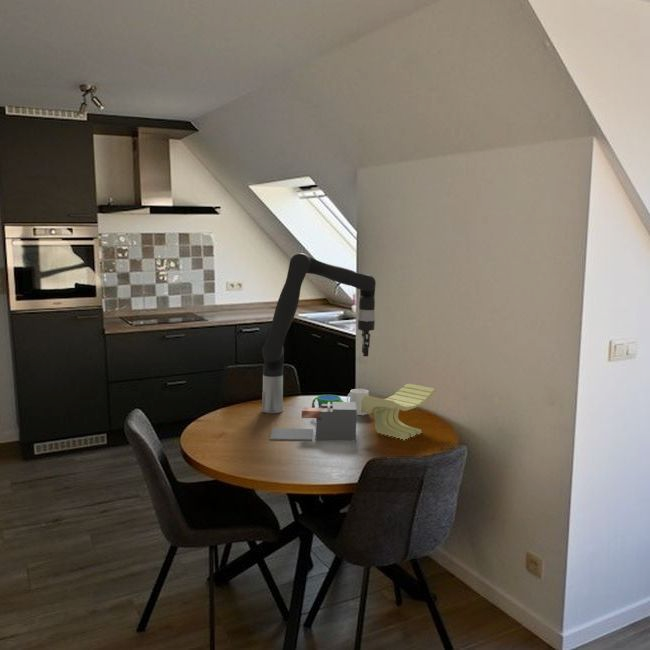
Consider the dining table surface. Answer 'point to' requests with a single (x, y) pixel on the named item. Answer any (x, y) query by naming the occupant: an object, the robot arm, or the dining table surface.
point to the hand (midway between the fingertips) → (365, 354)
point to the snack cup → (326, 400)
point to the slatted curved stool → (396, 409)
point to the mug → (358, 398)
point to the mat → (291, 434)
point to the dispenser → (337, 422)
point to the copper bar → (312, 412)
